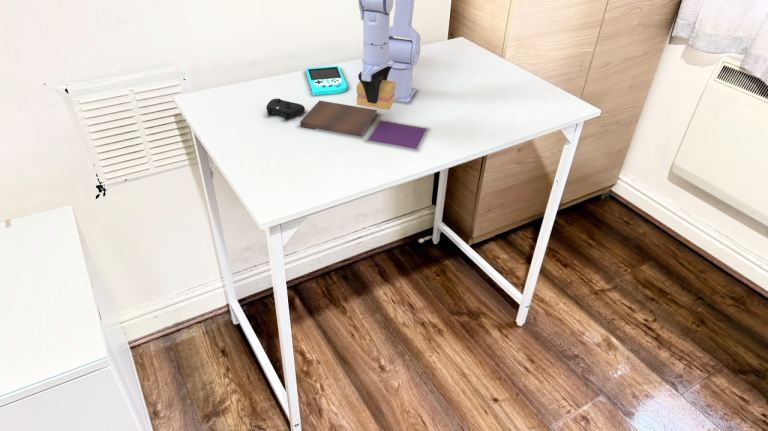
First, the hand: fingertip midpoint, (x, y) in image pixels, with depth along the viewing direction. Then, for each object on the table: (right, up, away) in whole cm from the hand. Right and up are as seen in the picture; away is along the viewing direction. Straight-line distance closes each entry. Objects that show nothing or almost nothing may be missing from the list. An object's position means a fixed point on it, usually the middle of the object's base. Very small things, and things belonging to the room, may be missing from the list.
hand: (375, 97), depth 124 cm
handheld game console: (-15, +10, +26) cm, 32 cm away
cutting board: (-9, -4, +9) cm, 13 cm away
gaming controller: (-24, -2, +11) cm, 27 cm away
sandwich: (0, -1, +1) cm, 2 cm away
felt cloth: (+5, -8, +4) cm, 11 cm away
